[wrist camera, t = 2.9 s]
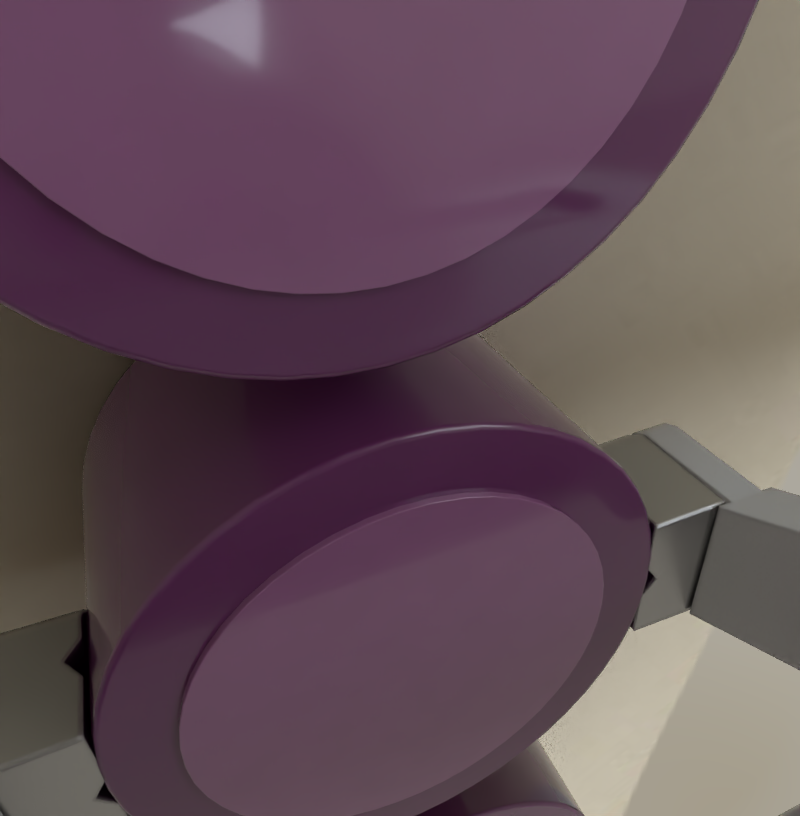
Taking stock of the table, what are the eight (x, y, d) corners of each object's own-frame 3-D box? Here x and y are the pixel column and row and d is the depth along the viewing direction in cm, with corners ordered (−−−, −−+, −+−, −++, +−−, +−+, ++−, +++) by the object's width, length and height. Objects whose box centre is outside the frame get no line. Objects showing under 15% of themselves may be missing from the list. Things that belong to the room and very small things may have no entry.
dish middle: (7, 329, 7) (-26, 566, 5) (504, 230, 9) (706, 355, 6) (149, 673, 11) (181, 932, 8) (492, 553, 12) (620, 730, 10)
